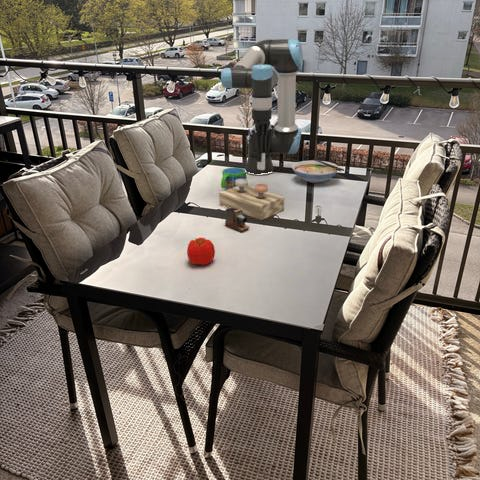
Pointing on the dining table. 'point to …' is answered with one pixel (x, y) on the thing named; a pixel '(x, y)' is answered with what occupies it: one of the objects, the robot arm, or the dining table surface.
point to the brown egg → (260, 189)
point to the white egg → (241, 184)
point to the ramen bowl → (315, 170)
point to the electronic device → (236, 219)
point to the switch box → (252, 202)
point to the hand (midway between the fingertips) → (261, 169)
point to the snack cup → (232, 177)
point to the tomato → (200, 251)
